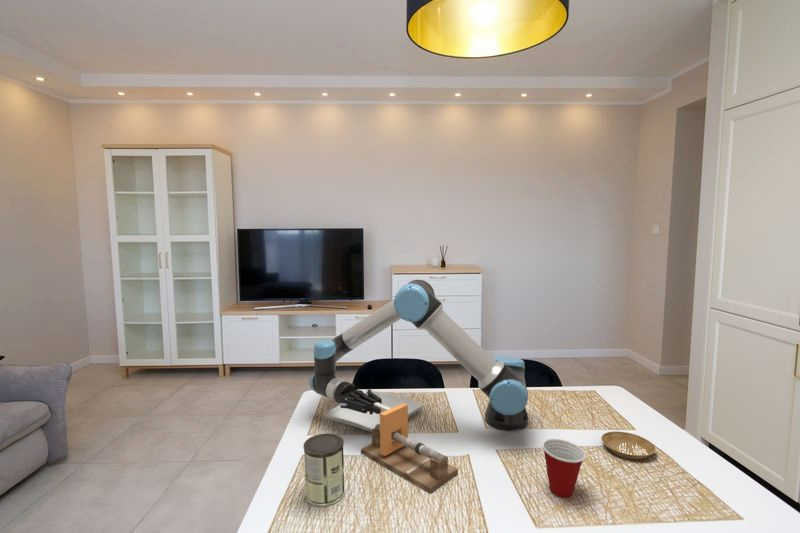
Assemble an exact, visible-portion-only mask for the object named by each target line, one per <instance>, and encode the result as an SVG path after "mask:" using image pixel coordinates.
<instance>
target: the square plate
mask: <svg viewBox="0 0 800 533" xmlns="http://www.w3.org/2000/svg"><path fill="white" fill-rule="evenodd" d="M370 390H371V392H373V393H374V394H375V395H377V396H378V397H380V398H381V399H382V404H383V405H386V406H387V407H390V408H393V407H395V406H398V405H400V404H402V403H404V404H407V405H408V418H409V417H411V416H412V415H414V414H416V413H417V412H418V411H420V410H421V409H422V407H423V406H424V405H425V403H424V402H421V401H418V400H413V399H410V398H406V397H402V396H398V395H395V394H394V395H393V394H391V393H385V392H381V391H376V390H372V389H370ZM366 391H367V390H365V391H364V392H366ZM324 416H325V417H326V418H328V419H329V420H332V421H334V422H337V423H340V424H344V425H347V426H352V427H354V428H358V429H360V430H363V431H367V432H370V433H372V429H373V428H375V426H376V425H377V424H380V415H379V414H376V413H374V412H373V414H372V415H370V412H368V411H367V413H361V412H358V411H354V410H351V409H347V408H341V406H340V404H338V405H337V406H335V407H333V408H331V409H329V411H327V412H325V413H324Z"/></svg>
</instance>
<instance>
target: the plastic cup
mask: <svg viewBox="0 0 800 533" xmlns="http://www.w3.org/2000/svg"><path fill="white" fill-rule="evenodd" d="M541 446H542V449H543V453H544V454H543V455H544V460H545V467H546V473H547V474H546V475H547V478H548V485H549V490H550V492H551V493H552V494H553V495H554V496H557V497H558V498H564V499H565V498H567V499H568V498H570V497H572V496H573V495H574V493H575V488H576V484H577V483H578V482H577V481H578V478H579V474H580V470H581V466H582V464H583V462H584V460H585V459H586V458H587V453H586V452H585V450H584V449H583V448H582V447H581V446H580V445H578V444H576V443H573V442H571V441H569V440H565V439H561V438H548V439H545V440H544V441H543V442H542V445H541Z"/></svg>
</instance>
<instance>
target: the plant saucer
mask: <svg viewBox="0 0 800 533" xmlns="http://www.w3.org/2000/svg"><path fill="white" fill-rule="evenodd" d="M601 441H602V444H604V446H605V447H606V448H607V449H608V450H609V451H610V452H611V453H613V454H615V455H616V456H618V455H619V457H620V458H621V457H622V458H624V459H627V458H628V460H634V459H637V460H638V459H640V460H643V459H644V460H645V459H646V458H647V459H648V457H649V458H650V457H651V456H652V455H653V454H654V453H655V451H656V447H655V445H654V444H653V443H652V442H651V441H649V440H648V439H647V438H645V437H643V436H640V435H637V434H635V433H630V432H625V431H619V430H618V431H616V430H615V431H608V432H605V433H603V434H602V435H601ZM623 443H624V447H625V443H626V449H627V450H628V448H629V454H625V453H622V450H621V452H619V445H620V444H621V448H622V444H623ZM636 444H637V445H638V448H639V446H640V447H641V450H642V447H643V448H644V449H646V450H647V452H648V455H644V453H642V455H633V454H634V452H633V448H632V445H633V447H634V450H635V446H636ZM617 447H618V451H617ZM627 450H626V453H627ZM631 452H632V455H630V453H631ZM637 460H636V461H637Z"/></svg>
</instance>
